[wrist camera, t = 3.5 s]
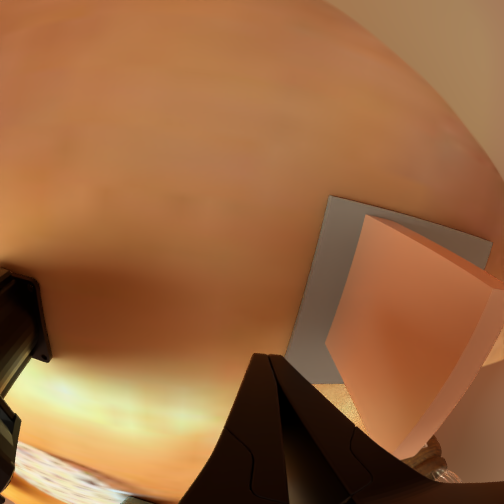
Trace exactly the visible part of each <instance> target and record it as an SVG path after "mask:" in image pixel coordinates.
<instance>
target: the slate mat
mask: <svg viewBox="0 0 504 504" xmlns="http://www.w3.org/2000/svg"><path fill="white" fill-rule="evenodd" d="M366 214H367V215H371V216H375V217H379V218H383V219H387V220H391V221H394V222H396V223H398V224H400V225H402V226H404V227H406V228H408V229H410V230H412V231H414V232H416V233H418V234H420V235H422V236H424V237H425V238H427V239H429V240H431V241H433V242H435V243H437V244H439V245H440V246H442V247H444V248H446V249H448V250H449V251H451V252H453V253H455V254H457V255H458V256H460V257H462V258H464V259H465V260H467V261H469V262H470V263H472V264H474V265H476V266H477V267H479V268H481V269H482V270H484V269H485V266H486V263H487V260H488V257H489V254H490V251H491V248H492V245H493V243H492V242H490V241H488V240H485V239H482V238H479V237H476V236H473V235H470V234H467V233H464V232H461V231H458V230H455V229H452V228H449V227H446V226H443V225H439V224H436V223H433V222H430V221H426V220H423V219H420V218H416V217H413V216H409V215H406V214H402V213H398V212H395V211H391V210H387V209H384V208H380V207H376V206H372V205H368V204H364V203H360V202H356V201H352V200H348V199H344V198H340V197H335V196H331V195H329V198H328V203H327V207H326V211H325V215H324V219H323V223H322V227H321V231H320V235H319V239H318V243H317V247H316V251H315V255H314V259H313V262H312V266H311V270H310V274H309V277H308V281H307V284H306V288H305V291H304V295H303V298H302V302H301V305H300V309H299V312H298V316H297V319H296V322H295V325H294V329H293V332H292V335H291V338H290V342H289V345H288V348H287V351H286V354H285V357H284V358H285V359H286V360H287V361H288V362H289V363H290V364H291V365H292V366H293V367H294V368H295V369H296V370H297V371H298V372H299V373H300V374H301V375H302V376H303V377H304V378H305V379H307V380H308V381H309V382H310V383H311V384H344V382H343V379H342V377H341V375H340V373H339V371H338V369H337V367H336V365H335V363H334V361H333V359H332V357H331V355H330V353H329V351H328V349H327V347H326V345H325V341H326V339H327V336H328V333H329V330H330V328H331V325H332V322H333V319H334V317H335V314H336V311H337V308H338V305H339V302H340V299H341V296H342V293H343V290H344V287H345V284H346V281H347V278H348V274H349V271H350V268H351V265H352V261H353V258H354V255H355V251H356V248H357V244H358V241H359V237H360V234H361V230H362V226H363V222H364V219H365V215H366Z"/></svg>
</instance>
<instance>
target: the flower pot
mask: <svg viewBox="0 0 504 504" xmlns="http://www.w3.org/2000/svg"><path fill="white" fill-rule="evenodd" d="M121 504H153V503H150V502H146V501H143V500H140V499H137V498H134V497H127V498H126V499H125V500H124V501H123V502H122V503H121Z"/></svg>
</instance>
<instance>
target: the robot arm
mask: <svg viewBox="0 0 504 504" xmlns="http://www.w3.org/2000/svg"><path fill="white" fill-rule="evenodd" d="M31 285H32V287H33V288H32V287H31ZM31 358H35V359H37V360H40V361H43V362H46V363H48V362H50V360H51V359H52V354H51V350H50V345H49V341H48V336H47V331H46V326H45V321H44V316H43V310H42V303H41V297H40V289H39V284H38V282H37V281H36V280H35V279H34V278H31V277H27V276H23V275H19V274H15V273H12V272H10V271H9V270H7V269H3V268H0V493H1V492H2V491H3V490H4V489H5V488H6V487H7V486H8V485H9V483H10V481H11V479H12V476H13V473H14V471H15V457H16V449H17V443H18V437H19V431H20V426H21V419H20V418H19V416H18V415H17V414H16V413H14V412H13V411H12V410H11V408H10V407H9V406H8V404H7V403H6V402H5V400H4V397H5V396H6V394H7V393H8V391H9V390H10V388H11V387H12V385H13V384H14V382H15V381H16V379H17V378H18V376H19V375H20V373H21V372H22V371H23V369H24V368H25V366H26V365H27V363H28V362H29V361H30V359H31ZM4 502H5V498H4V497H3V496H2V495H1V494H0V504H3V503H4ZM178 504H504V481H500V482H487V483H443V482H438V481H435V480H432V479H430V478H428V477H426V476H424V475H422V474H421V473H419V472H418V471H416V470H415V469H413V468H411V467H410V466H408V465H407V464H405V463H404V462H402V461H401V460H399V459H398V458H396V457H395V456H393V455H392V454H391V453H389V452H388V451H386V450H385V449H384V448H382V447H381V446H380V445H378V444H377V443H376V442H375V441H373V440H372V439H371V438H370V437H369V436H367V435H366V434H365V433H364V432H363V431H362V430H361V429H359V428H358V427H357V426H356V427H355V424H354V423H353V422H351V421H350V420H349V419H348V418H347V417H346V416H345V415H344V414H343V413H342V412H341V411H339V410H338V409H337V408H336V407H335V406H334V405H333V404H332V403H331V402H330V401H329V400H328V399H327V398H325V397H324V396H323V395H322V394H321V393H320V392H319V391H318V390H317V389H316V388H315V387H314V386H313V385H312V384H311V383H310V382H309V381H308V380H307V379H305V378H304V377H303V376H302V375H301V374H300V373H299V372H298V371H297V370H296V369H295V368H294V367H293V366H292V365H291V364H290V363H289V362H288V361H287V360H286V359H285V358H284V357H283V356H281V355H273V354H269V355H268V356H267V355H266V354H260V353H254V354H253V355H252V357H251V360H250V363H249V365H248V368H247V370H246V373H245V376H244V378H243V381H242V383H241V386H240V388H239V391H238V393H237V396H236V399H235V401H234V404H233V406H232V408H231V411H230V413H229V416H228V418H227V421H226V423H225V426H224V429H223V430H222V433H221V435H220V437H219V440H218V442H217V444H216V446H215V448H214V450H213V452H212V454H211V456H210V458H209V459H208V461H207V462H206V464H205V466H204V467H203V469H202V470H201V472H200V473H199V475H198V476H197V478H196V479H195V481H194V482H193V483H192V485H191V486H190V488H189V489H188V490H187V492H186V493H185V495H184V496H183V497H182V499H181V500H180V501H179V503H178Z"/></svg>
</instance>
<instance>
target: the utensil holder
mask: <svg viewBox="0 0 504 504" xmlns="http://www.w3.org/2000/svg"><path fill="white" fill-rule="evenodd" d="M401 461H402V462H404V463H405V464H407V465H408V466H410V467H411V468H413V469H415V470H416V471H418V472H419V473H421V474H422V475H424V476H426V477H428V478H430V479H432V480H436V479H438V478H439V477H440V476H441V475H442V474H443V473H444V472H446V469H447V464H446V461H445V459H444V458H442V457H441V447H440V444H439V442H438V441H437V439H436V437H435V436H434V434H433V436H432V437H431V438H430V439H429V440H428V441H427V443H426V444H425V445H424V446H423V447H422V448H421V449H420V451H419V452H418V453H417V454H416V455H415V456H413V457H410V458H406V459H403V460H401ZM447 471H448V470H447ZM449 472H450V471H449ZM447 473H448V472H447ZM452 473H453V472H452ZM446 475H447V474H446ZM451 475H452V474H451ZM452 476H453V475H452ZM443 478H444V477H443ZM444 479H445V478H444ZM456 479H457V478H456ZM438 480H439V479H438ZM436 481H437V480H436Z"/></svg>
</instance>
